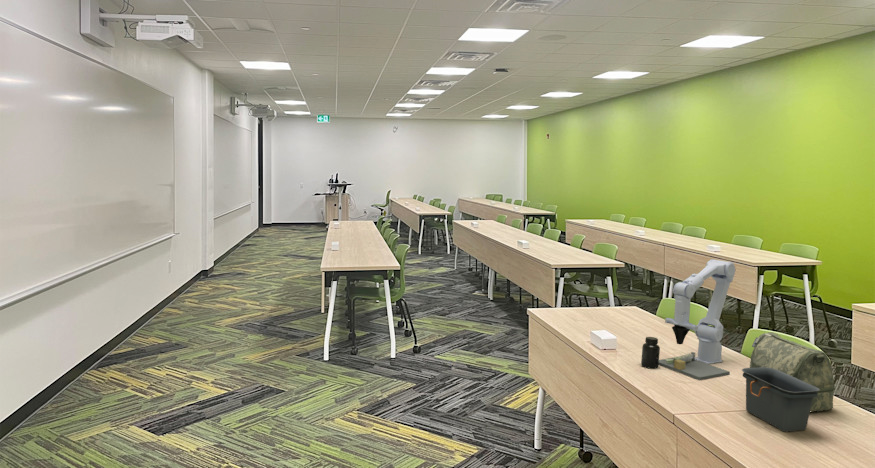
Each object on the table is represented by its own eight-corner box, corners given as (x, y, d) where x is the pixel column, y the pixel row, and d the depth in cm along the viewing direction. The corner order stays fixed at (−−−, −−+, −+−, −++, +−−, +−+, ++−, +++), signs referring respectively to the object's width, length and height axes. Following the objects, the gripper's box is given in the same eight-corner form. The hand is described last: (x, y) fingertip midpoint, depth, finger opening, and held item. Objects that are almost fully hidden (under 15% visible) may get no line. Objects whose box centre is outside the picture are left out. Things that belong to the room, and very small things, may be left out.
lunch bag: (738, 387, 215) (743, 330, 213) (781, 385, 218) (786, 330, 216) (792, 415, 190) (798, 351, 188) (839, 413, 193) (846, 350, 191)
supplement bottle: (659, 369, 232) (662, 341, 231) (642, 368, 234) (644, 339, 233) (656, 364, 239) (658, 336, 238) (639, 362, 240) (641, 335, 239)
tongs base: (683, 358, 249) (684, 348, 248) (729, 374, 229) (730, 363, 229) (654, 363, 240) (655, 352, 240) (699, 380, 221) (700, 368, 221)
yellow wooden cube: (678, 366, 233) (679, 359, 233) (685, 368, 230) (685, 361, 230) (673, 367, 232) (674, 360, 231) (679, 369, 229) (680, 362, 229)
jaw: (688, 357, 242) (689, 353, 242) (693, 358, 241) (693, 354, 240) (672, 362, 234) (673, 358, 234) (677, 363, 232) (677, 359, 232)
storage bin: (821, 434, 176) (825, 389, 174) (778, 437, 172) (783, 391, 171) (767, 407, 196) (770, 366, 195) (728, 409, 193) (731, 368, 191)
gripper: (661, 308, 239) (658, 340, 241) (690, 316, 227) (688, 349, 228) (672, 307, 243) (670, 338, 244) (702, 314, 230) (699, 347, 231)
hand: (679, 343), depth 236 cm, fingers closed
